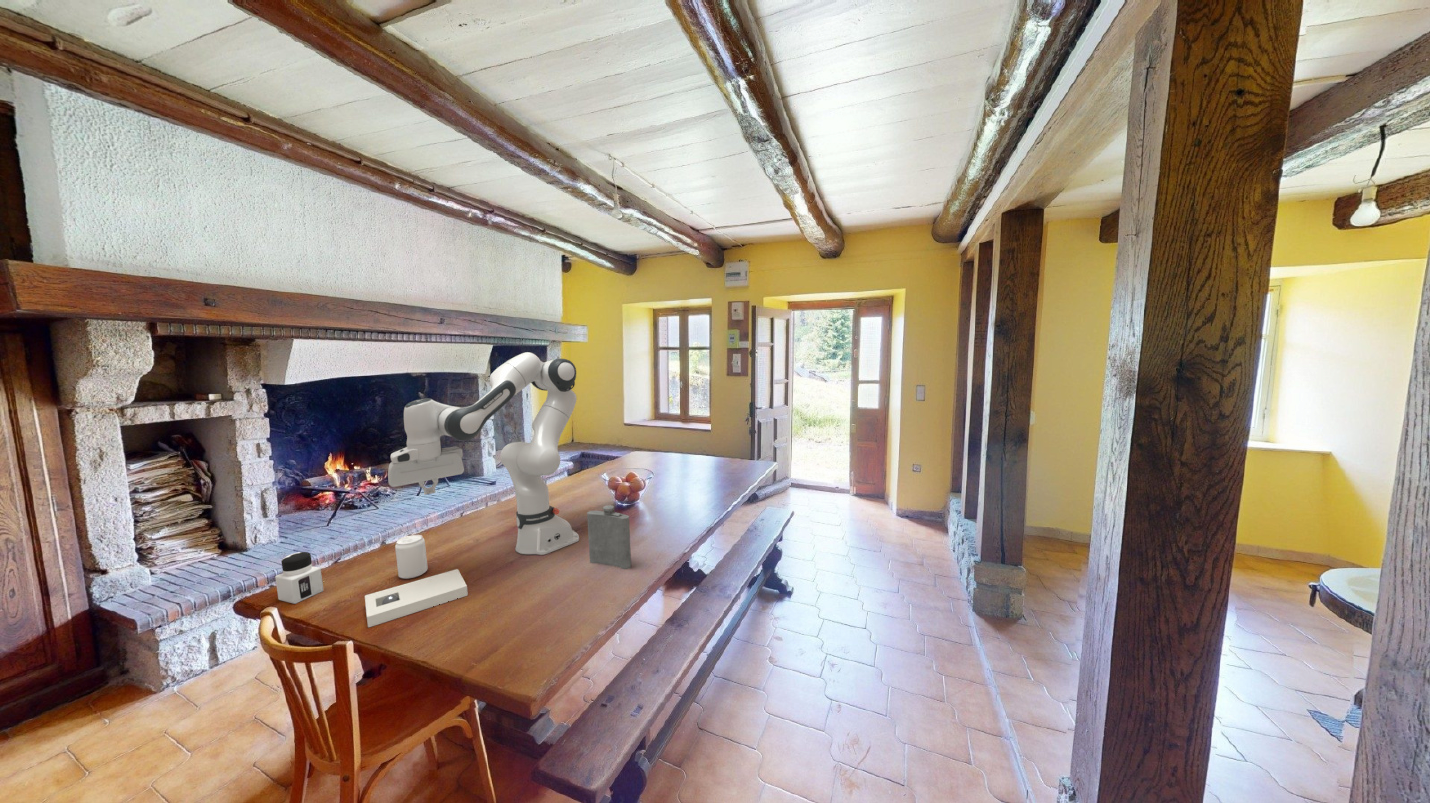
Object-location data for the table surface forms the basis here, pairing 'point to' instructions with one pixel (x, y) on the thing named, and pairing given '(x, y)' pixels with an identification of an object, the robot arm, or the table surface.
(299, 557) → the container
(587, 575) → the table surface
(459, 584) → the hole board
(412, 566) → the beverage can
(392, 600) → the steel ball
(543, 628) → the table surface
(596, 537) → the hip flask
